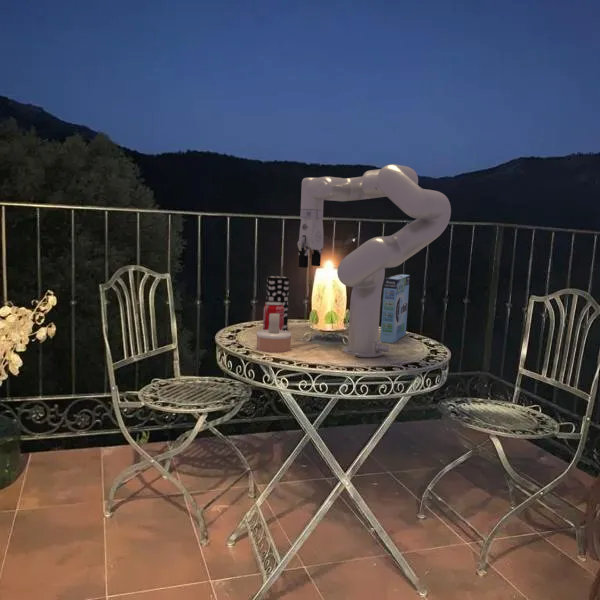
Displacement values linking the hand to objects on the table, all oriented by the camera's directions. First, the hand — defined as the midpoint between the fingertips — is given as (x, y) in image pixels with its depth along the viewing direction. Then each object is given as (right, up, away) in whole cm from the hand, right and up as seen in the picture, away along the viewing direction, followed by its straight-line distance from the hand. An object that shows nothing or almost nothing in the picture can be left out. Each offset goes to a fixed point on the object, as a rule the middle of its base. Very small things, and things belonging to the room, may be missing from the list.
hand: (309, 266), depth 212 cm
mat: (-3, -27, -5) cm, 28 cm away
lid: (-12, -23, -12) cm, 28 cm away
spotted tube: (-12, -23, +28) cm, 38 cm away
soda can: (-13, -25, +7) cm, 29 cm away
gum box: (+31, -26, +19) cm, 44 cm away
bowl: (-12, -28, -11) cm, 32 cm away
